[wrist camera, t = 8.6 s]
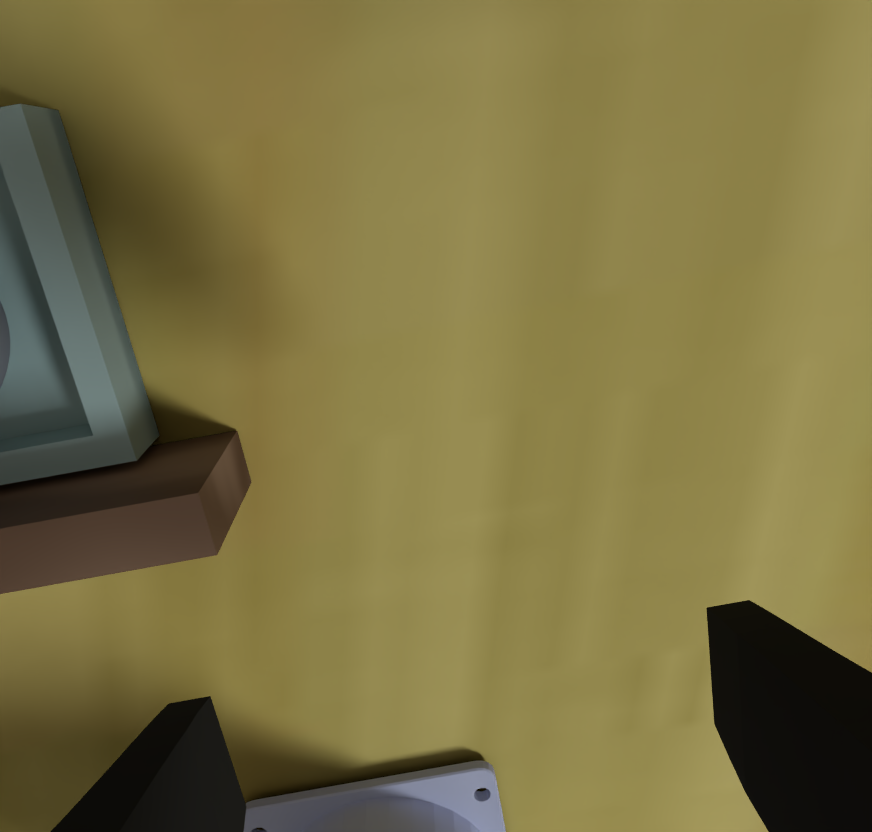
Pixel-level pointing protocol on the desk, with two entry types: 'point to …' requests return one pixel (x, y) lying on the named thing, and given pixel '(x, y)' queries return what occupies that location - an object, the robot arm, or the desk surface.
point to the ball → (4, 344)
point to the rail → (122, 514)
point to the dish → (59, 317)
